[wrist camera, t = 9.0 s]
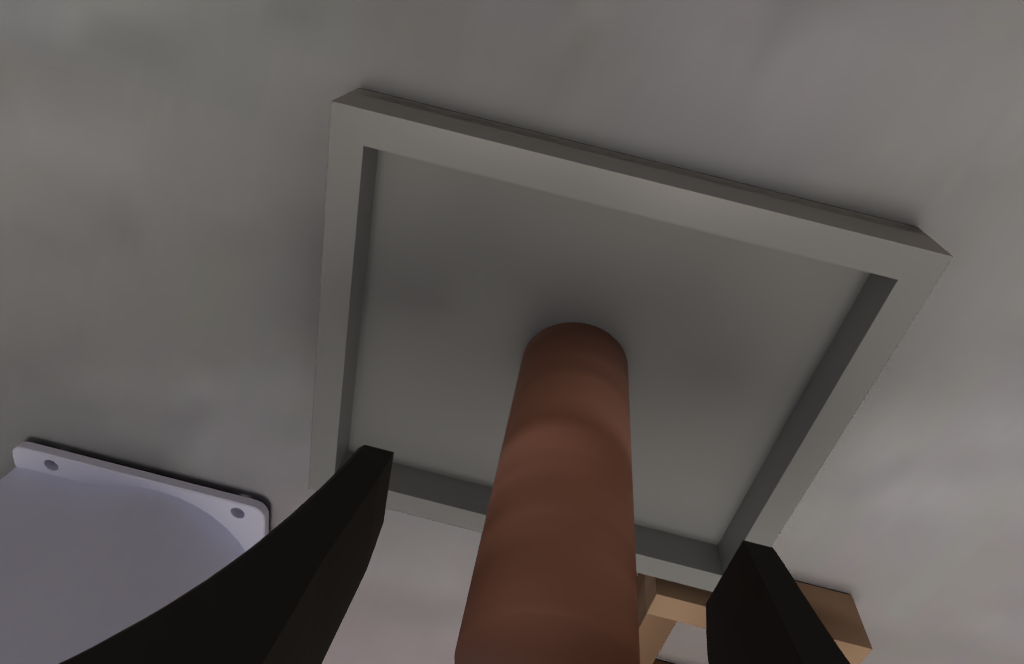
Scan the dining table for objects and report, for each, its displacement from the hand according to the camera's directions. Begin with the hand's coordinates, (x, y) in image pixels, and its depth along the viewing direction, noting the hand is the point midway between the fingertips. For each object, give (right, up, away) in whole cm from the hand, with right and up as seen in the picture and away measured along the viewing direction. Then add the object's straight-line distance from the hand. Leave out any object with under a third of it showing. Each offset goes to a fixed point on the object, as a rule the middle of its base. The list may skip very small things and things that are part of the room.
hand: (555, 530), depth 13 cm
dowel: (+1, +3, +5) cm, 6 cm away
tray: (+1, +3, +6) cm, 7 cm away
